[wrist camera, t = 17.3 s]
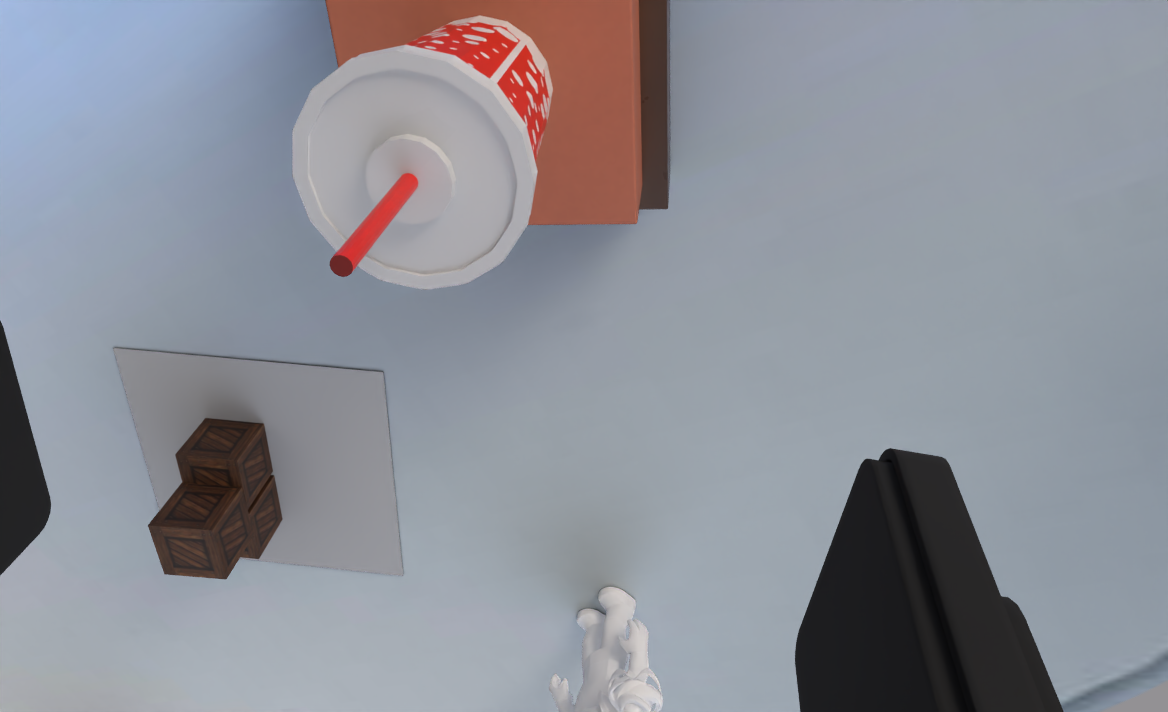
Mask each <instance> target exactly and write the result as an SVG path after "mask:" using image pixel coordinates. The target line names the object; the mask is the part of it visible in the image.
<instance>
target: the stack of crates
mask: <svg viewBox="0 0 1168 712" xmlns="http://www.w3.org/2000/svg"><path fill="white" fill-rule="evenodd" d="M113 350H114V353H115V357H116V360H117V364H118V367H119V371H120V374H121V378H122V381H123V385H124V388H125V392H126V395H127V399H128V402H129V406H130V409H131V413H132V416H133V420H134V423H135V427H136V430H137V434H138V437H139V441H140V444H141V448H142V451H143V455H144V458H145V462H146V465H147V469H148V472H149V476H150V479H151V483H152V486H153V490H154V493H155V497H156V500H157V504H158V507H159V512H158V513H157V515H156V516H155V517H154V518H153V520H152V521H151V522H150V524H149V525H148V527H149V530H150V533H151V536H152V539H153V542H154V545H155V548H156V550H157V553H158V556H159V559H160V562H161V565H162V568H163V571H164V574H169V575H181V576H193V577H205V578H217V579H227V577H228V576H229V574H230V573H231V571H232V569H233V568H234V566H235V565H236V563H237V561H238V560H239V559H248V560H257V561H266V562H276V563H285V564H294V565H304V566H313V567H322V568H332V569H341V570H350V571H360V572H369V573H379V574H388V575H397V576H403V568H402V558H401V548H400V538H399V527H398V517H397V507H396V497H395V487H394V477H393V466H392V456H391V446H390V436H389V426H388V415H387V405H386V395H385V385H384V375H383V372H375V371H364V370H353V369H342V368H331V367H320V366H308V365H297V364H286V363H275V362H264V361H253V360H242V359H231V358H220V357H209V356H198V355H187V354H175V353H164V352H153V351H142V350H131V349H120V348H113Z"/></svg>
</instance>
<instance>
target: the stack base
mask: <svg viewBox="0 0 1168 712" xmlns="http://www.w3.org/2000/svg"><path fill="white" fill-rule="evenodd" d="M639 40H640V90H641V141H642V191H641V198H640V206H639V209H668V200H669V183H670V0H639Z"/></svg>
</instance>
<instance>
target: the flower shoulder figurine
mask: <svg viewBox="0 0 1168 712" xmlns="http://www.w3.org/2000/svg"><path fill="white" fill-rule="evenodd" d="M598 599H599V602H600V604H601V605H602V606H603V607H604V609H605V610H606V611H607V612H606V615H604V614H602V613H600V612H599V611H597V610H594V609H582V610H581V611H579V613H578V616H577V623H578V624H579V625H580V626H581V627H582V628H583V629H584V630H585V631H586V634H585V636H584V639H583V642H582V668H583V684H582V687H581V689H580V691H579V694H578V696H577V701H576V704H575V705H574V704H573V703H572V702H573V696H572V695H571V694H570V692H569V685H568V680H567V679H563V683H561V679H560V678H559V677H558V675H556V674H555V675H554V676H553V677H552V678H551V680H550V686H549V690H550V692H551V693H552V696H553V699H554V701H555V703H556V706H557V708H558V710H559V712H651V708H652V707H653V705H654V704H656V707H655V709H654V711H653V712H659V711H660V710H661V709H662V705H663V699H662V693H661V692H660V691H661V687H660V684H659V681H658V679H657V677H656V675H655V674H654V673H653V672H652V670H651V669H649V661H648V653H647V652H648V637H649V633H648V631H647V629H646V626H645V625H644V624H642V622H641V621H639V620H638V619H634V620H633V621H632V618H633V616H634V612H635V608H636V601H635V600H634V599H633V598H632V597H631V596H630V595H628V594H627V593H626V592H624V591H623V590H621V589H619V588H615V587H605V588H603V589H601V590H600V591H599V594H598ZM628 625H629V627H630V632H629V638H628V639H627V640H626V628H627V626H628ZM629 654H630V660H629V670H628V671H627V673H626V672H625V670H624V669H625V666H626V663H627V659H628V656H629ZM623 675H624V676H623ZM648 676H651V677H652V678H653V679H654V681H655V682H656V683H657V685H658V688H659V689H658V690H657V689H656V688H654V687H653V686H652V685H650V684H647V683H645V682H646V680H647V678H648Z"/></svg>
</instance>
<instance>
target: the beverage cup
mask: <svg viewBox="0 0 1168 712" xmlns="http://www.w3.org/2000/svg"><path fill="white" fill-rule="evenodd" d="M552 92H553V87H552V82H551V78H550V73H549V69H548V64H547V61H546V60H545V58H544V57H543V55H542V54H541V52H540V51H539V49H538V48H537V46H536V45H535V43H534V42H533V40H532V39H531V38H530V37H529V36H528V35H526V34H525V33H523V32H522V31H520V30H519V29H518V28H516V27H515V26H513V25H512V24H510V23H509V22H507V21H503V20H499V19H494V18H490V17H485V16H475V17H470V18H465V19H461V20H456V21H453V22H451V23H449V24H446V25H444V26H442V27H440V28H438V29H436V30H434V31H432V32H430V33H428V34H426V35H424V36H422V37H420V38H418V39H415V40H413V41H411V42H409V43H407V44H405V45H402V46H397V47H392V48H388V49H383V50H378V51H373V52H368V53H363V54H360V55H358V56H357V57H354V58H351V59H350V60H348V61H347V62H346V63H344V64H343V65H342V66H340V67H339V68H338V69H337V70H335V71H334V72H333V73H331V74H330V75H329V76H328V77H326V78H325V79H324V80H323V81H321V82H320V83H319V84H317V85H316V86H315V87H314V88H312V90H311V92H310V94H309V96H308V98H307V100H306V102H305V105H304V107H303V109H302V111H301V113H300V115H299V117H298V120H297V122H296V124H295V126H294V128H293V162H292V176H293V179H294V181H295V184H296V187H297V189H298V192H299V194H300V197H301V199H302V202H303V205H304V207H305V210H306V212H307V215H308V217H309V220H310V221H311V222H312V224H313V225H314V226H315V227H316V228H317V229H318V231H319V232H320V233H321V234H322V235H323V236H324V238H325V239H326V240H327V241H328V242H329V243H330V245H331V246H332V247H333V248H334V249H335V250H336V254H335V255H334V256H333V257H332V259H331V260H330V267H331V270H332V271H333V272H334V273H335V274H337V275H338V276H342V277H345V276H348V275H350V274H351V273H352V272H353V270H354V269H355V268H356V267H359V268H361V269H362V270H364V271H366V272H367V273H369V274H371V275H372V276H374V277H376V278H377V279H379V280H381V281H385V282H390V283H395V284H399V285H404V286H409V287H413V288H418V289H422V290H428V289H435V288H442V287H449V286H455V285H462V284H468V283H469V282H471V281H473V280H474V279H476V278H478V277H479V276H481V275H482V274H484V273H486V272H487V271H489V270H491V269H492V268H494V267H496V266H497V265H499V264H501V263H502V262H503V261H504V260H505V258H506V257H507V255H508V254H509V252H510V251H511V249H512V248H513V246H514V245H515V243H516V242H517V240H518V239H519V237H520V236H521V235H522V233H523V232H524V230H525V229H526V227H527V225H528V222H529V216H530V215H531V209H532V203H533V197H534V191H535V184H536V178H537V172H538V171H537V167H536V163H535V162H536V159H537V155H538V152H539V148H540V144H541V141H542V137H543V134H544V130H545V127H546V123H547V120H548V116H549V110H550V104H551V98H552Z"/></svg>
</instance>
